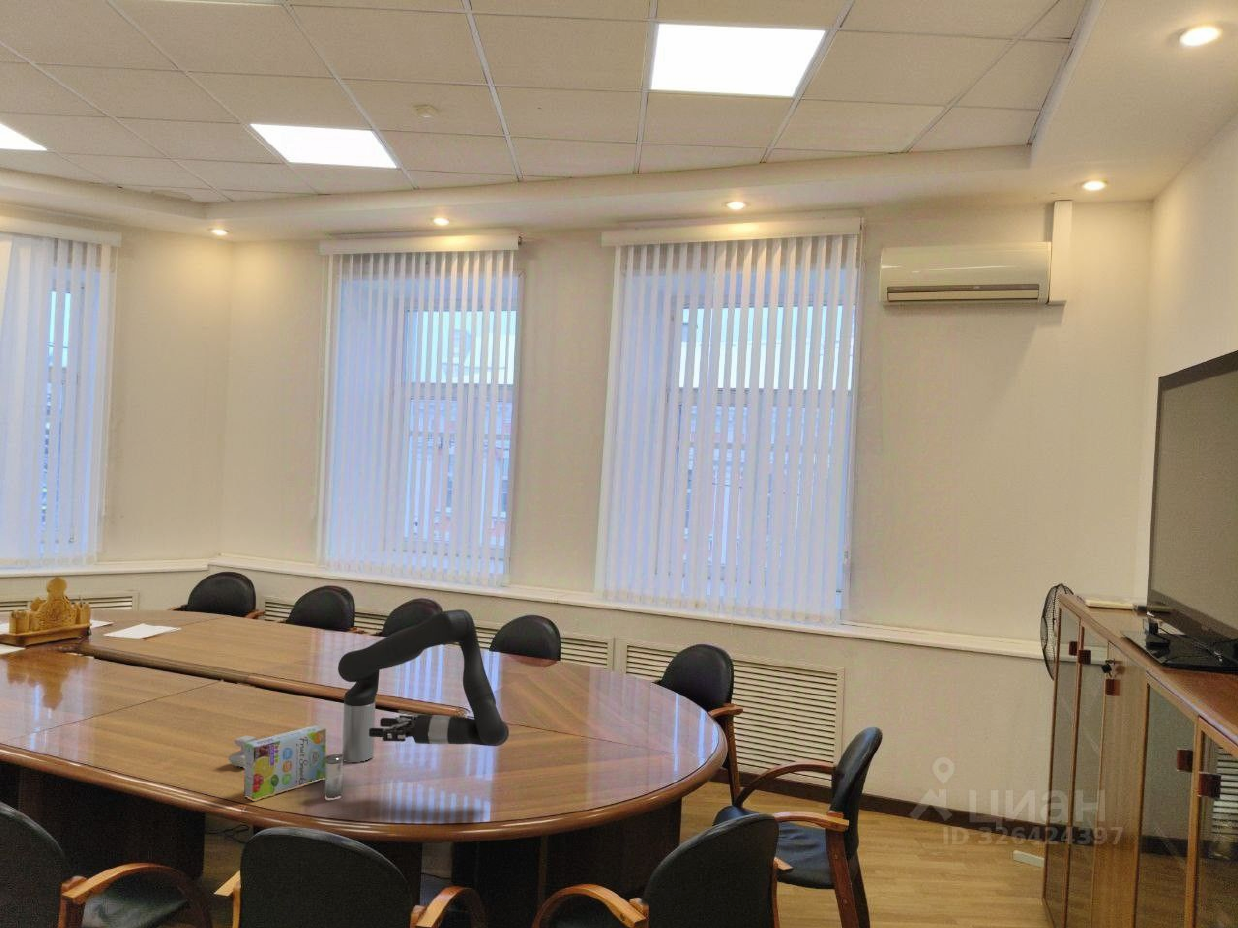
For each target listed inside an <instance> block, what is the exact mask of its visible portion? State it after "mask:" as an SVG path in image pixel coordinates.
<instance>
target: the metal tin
mask: <svg viewBox="0 0 1238 928" xmlns="http://www.w3.org/2000/svg"><path fill="white" fill-rule="evenodd" d="M343 767H344V760H343V754H339V753H334V754H329V755H325V780H324V797H325V796H326V797H327V798H335V797H338V796H341V795H342V796H343V778H344V777H343V773H344V772H343V771H344V770H343V769H344V768H343Z"/></svg>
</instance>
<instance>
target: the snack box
mask: <svg viewBox="0 0 1238 928" xmlns="http://www.w3.org/2000/svg"><path fill="white" fill-rule="evenodd" d="M326 737H327V732H326V728H325V727H323V726H320V725H317V724H315V725H311V726H307V727H303V728H300V729H299V728H298V729H296V730H291V731H288V732H283V733H278V734H275V735H272V736H269V737H263V738H259V739H256V740H255V741H251V742H247V743H245V768H244V776H243V777H244V782H243V784H244V785H243V786H244V789H243V790H244V792H243V794H244V795H245V796H248V797H250V798H252V799H256V798H259V797H262V796H266V795H269V794H273V793H275V792H279V791H282V790H286V789H288V788H292V787H295V786H297V785H301V784H304V783H308V782H312V781H315V780H319V779H323V778H325V763H326V762H325V758H326V747H327V746H326V745H327V743H326V742H327V741H326V739H327V738H326ZM244 795H243V796H244Z"/></svg>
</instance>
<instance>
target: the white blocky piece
mask: <svg viewBox="0 0 1238 928" xmlns="http://www.w3.org/2000/svg"><path fill="white" fill-rule="evenodd" d="M255 740H257V736H256V737H255V736H251V735H243V736H241V737H238V738H236V739H235V740H234V744H235V745H236V747H238V748H240V750H239V751H237V752H234V753H231V754H229V755H228V760H229V762H230V764H232V765H233V766H234V765H235V766H234V767H237V766H239V767H238V768H240V767H245V743H247V742H251V741H255Z"/></svg>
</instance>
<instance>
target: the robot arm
mask: <svg viewBox="0 0 1238 928" xmlns="http://www.w3.org/2000/svg"><path fill="white" fill-rule="evenodd" d="M476 629H477V628H476V626H475V623H474V618H473V616H472V615H471V613H470V612H468V610H466V609H461V608H460V609H459V608H458V609H450V610H449V609H448V610H442V611H440V612H436V613H435V614H434V615H432V616H431V617H429V618H427V619H426V620H424V621H422V622H420V623H419V624H416V625H413V626H410V627H406V628H404V629H402V630H399V631H396V632H394V633H392V634H390V635H388V636H386V637H384V638H382V639H381V640H378V641H376V642H374V643H373V644H371V645H369V646H367V647H364V648H362V649H358V650H351V651H349V652H347V653H345V654H344V655H343V656H341V658H340V660H339V661H338V667H337V672H338V674H339V676H340V678H341V679H342V680H343V681H345V682H347V683H355V684H353V686H352V687H351V688H350V689H348V690H347V691H346V692H345V693H344V695H343V725H342V726H343V729H342V755H343V759H344V760H346V761H350V762H349V763H352V762H357V763H360V762H359V761H364V762H366V761H365V760H368V759H370V758H372V757H373V755H374V754H375V752H374V750H375V738H382V741H383V742H405V741H406V739H408V738H410V737H412V738H413V742H414V743H415V744H418V745H419V744H420V745H421V744H423V745H476V746H484V747H485V746H486V747H499V746H501V745H503V744H504V743H506V741H507V740H508V738H509V736H510V730H509V729H510V728H509V727H508V725H507V723H506V722H505V721H503V720H502V718H501V715H500V713H499V710H498V708H497V702H496V697H495V694H494V692H493V689H492V686H491V684H490V682H489V679H488V678H489V677H488V675H487V673H486V670H485V666H484V661H483V657H482V653H481V648H480V642H479V638H478V635H477V630H476ZM456 643H458V646H459V647H460V650H461V652H462V655H463V673H462V686H463V690H464V694H465V696H466V700H467V702H468V704H469V707H470V710H471V712H472V714H473V718H470V717H465V716H450V715H448V716H447V715H443V714H441V715H440V714H421V713H420V714H418V715H415V716H414V715H403V714H402V715H399V716H396V717H393V718H392V717H382V718H380V723H379V725H380V727H375V722H376V721H375V720H376V696H377V695H378V692H379V691H378V690H379V682H380V670H384V669H388V668H392V667H393V668H394V667H398V666H401V665H403V664H405V663H408V662H411V661H414V660H415V659H417V658H418V657H420V655H422V653H423V652H424V651H425V650H426V649H429V648H432V647H436V646H440V645H441V646H442V645H448V644H456ZM373 758H374V757H373ZM373 758H372V759H373ZM344 760H343V761H344ZM370 760H371V759H370ZM346 761H345V762H346ZM368 761H369V760H368Z"/></svg>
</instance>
